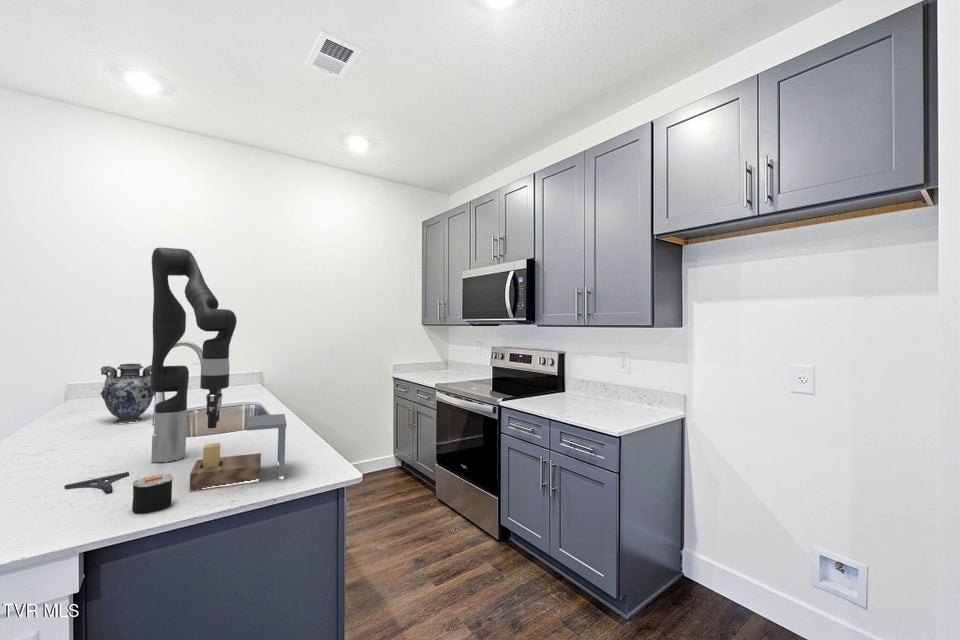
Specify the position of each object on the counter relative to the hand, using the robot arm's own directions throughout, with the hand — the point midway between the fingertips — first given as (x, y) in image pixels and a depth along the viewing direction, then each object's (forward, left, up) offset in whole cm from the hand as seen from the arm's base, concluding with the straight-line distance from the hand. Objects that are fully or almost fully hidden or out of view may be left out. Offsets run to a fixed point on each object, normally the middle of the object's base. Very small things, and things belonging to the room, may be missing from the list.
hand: (213, 424), depth 128 cm
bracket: (-28, +7, -18) cm, 34 cm away
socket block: (+4, 0, -17) cm, 18 cm away
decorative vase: (-45, +105, -18) cm, 115 cm away
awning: (+14, 0, -17) cm, 22 cm away
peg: (0, 0, -16) cm, 16 cm away
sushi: (-12, -15, -18) cm, 26 cm away
